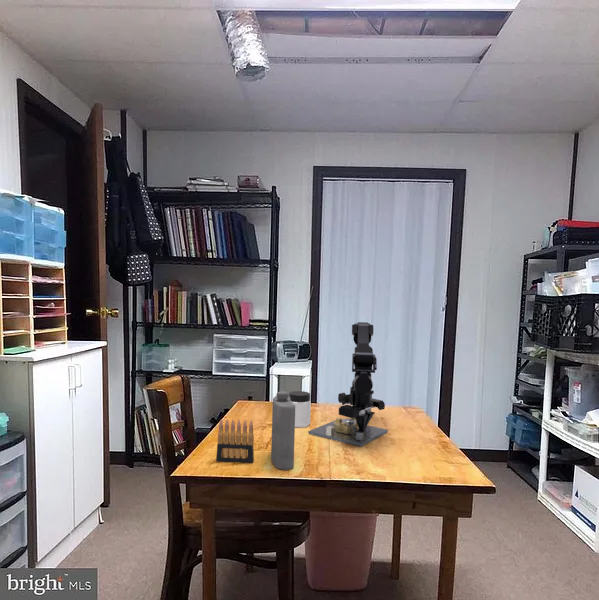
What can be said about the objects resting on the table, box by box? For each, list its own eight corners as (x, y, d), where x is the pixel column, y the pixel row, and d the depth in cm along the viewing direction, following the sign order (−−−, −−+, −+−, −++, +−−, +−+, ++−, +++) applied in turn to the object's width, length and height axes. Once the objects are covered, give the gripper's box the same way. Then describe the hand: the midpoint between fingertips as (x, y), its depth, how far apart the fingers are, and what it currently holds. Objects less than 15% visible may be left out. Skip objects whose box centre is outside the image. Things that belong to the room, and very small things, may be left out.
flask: (269, 452, 133) (270, 387, 133) (287, 451, 134) (289, 387, 134) (274, 470, 118) (276, 398, 118) (294, 470, 119) (297, 397, 119)
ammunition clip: (215, 461, 124) (217, 419, 124) (217, 459, 126) (218, 418, 126) (252, 463, 123) (254, 421, 123) (253, 460, 125) (255, 419, 125)
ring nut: (331, 426, 159) (331, 417, 159) (357, 425, 161) (357, 416, 161) (345, 440, 142) (345, 430, 142) (373, 439, 144) (373, 429, 144)
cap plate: (338, 421, 170) (338, 410, 170) (387, 432, 157) (387, 419, 157) (308, 433, 152) (308, 421, 152) (361, 446, 140) (361, 432, 140)
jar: (314, 425, 163) (315, 394, 163) (297, 429, 158) (298, 396, 158) (299, 420, 170) (300, 390, 170) (283, 423, 165) (284, 392, 165)
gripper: (360, 380, 159) (360, 422, 159) (326, 386, 146) (326, 432, 147) (386, 385, 151) (385, 429, 151) (352, 392, 138) (351, 440, 138)
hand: (361, 432), depth 147 cm, fingers closed
